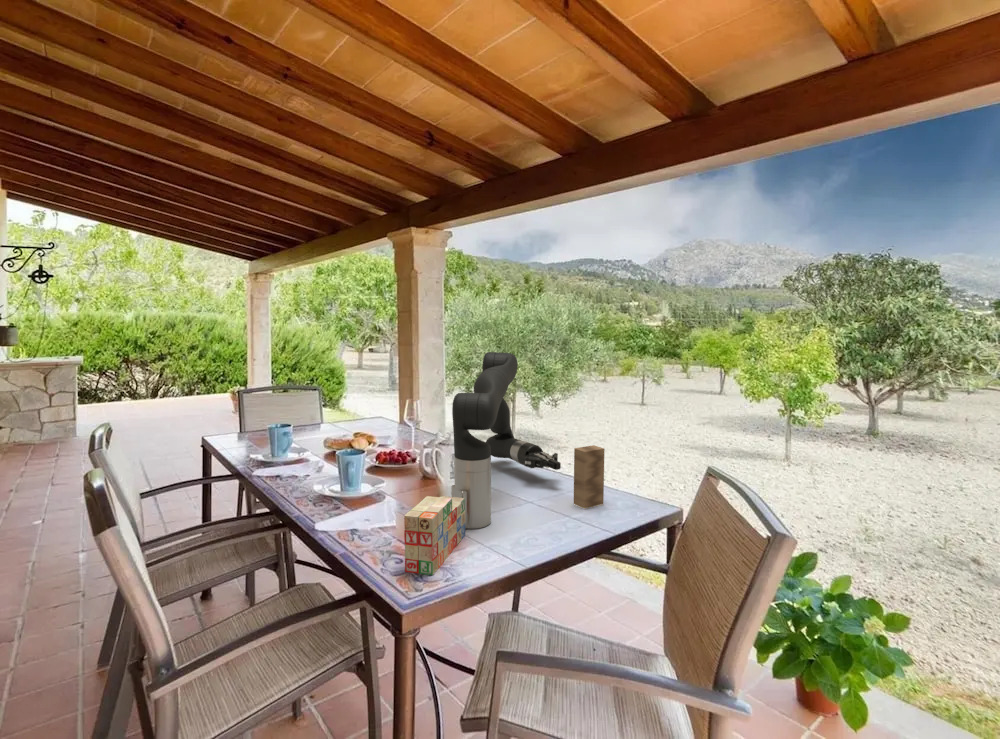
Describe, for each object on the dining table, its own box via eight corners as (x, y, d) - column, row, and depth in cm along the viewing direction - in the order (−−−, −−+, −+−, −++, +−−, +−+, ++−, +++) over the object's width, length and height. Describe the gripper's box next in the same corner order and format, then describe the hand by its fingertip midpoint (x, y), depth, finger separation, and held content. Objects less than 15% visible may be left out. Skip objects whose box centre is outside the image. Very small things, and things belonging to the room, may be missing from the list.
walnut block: (583, 509, 148) (584, 451, 146) (573, 504, 151) (574, 448, 150) (603, 504, 151) (604, 448, 150) (592, 500, 155) (593, 445, 153)
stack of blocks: (441, 532, 132) (440, 483, 131) (465, 535, 130) (465, 485, 129) (404, 572, 111) (403, 514, 110) (433, 576, 110) (432, 517, 108)
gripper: (509, 445, 173) (540, 457, 158) (542, 440, 180) (576, 451, 165) (509, 467, 174) (540, 482, 159) (542, 462, 181) (575, 475, 166)
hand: (558, 466), depth 162 cm, fingers closed
